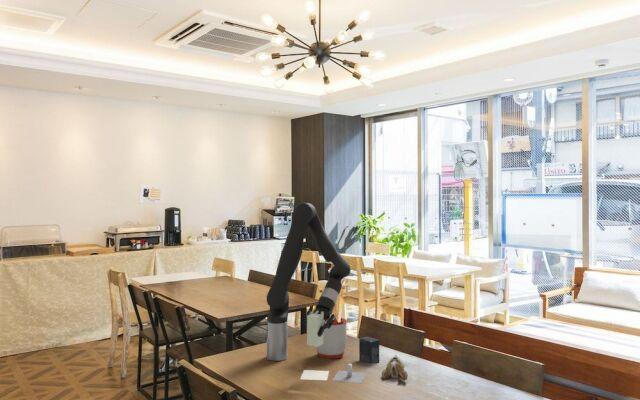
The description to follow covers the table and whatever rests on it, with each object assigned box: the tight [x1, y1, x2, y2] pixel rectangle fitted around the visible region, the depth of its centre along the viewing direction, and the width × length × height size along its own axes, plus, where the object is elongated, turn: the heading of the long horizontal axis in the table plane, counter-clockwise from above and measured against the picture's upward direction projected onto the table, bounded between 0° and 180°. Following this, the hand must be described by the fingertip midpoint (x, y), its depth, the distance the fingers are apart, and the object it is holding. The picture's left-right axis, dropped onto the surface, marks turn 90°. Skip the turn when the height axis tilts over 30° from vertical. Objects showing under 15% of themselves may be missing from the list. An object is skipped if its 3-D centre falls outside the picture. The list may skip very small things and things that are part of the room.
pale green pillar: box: [306, 313, 323, 348], centre depth 206 cm, size 5×5×12 cm
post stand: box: [332, 363, 367, 384], centre depth 204 cm, size 12×12×6 cm
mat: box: [300, 369, 330, 382], centre depth 205 cm, size 11×11×1 cm
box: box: [358, 336, 380, 364], centre depth 226 cm, size 8×6×11 cm
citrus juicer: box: [315, 318, 348, 360], centre depth 235 cm, size 16×17×20 cm
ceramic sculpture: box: [381, 354, 408, 381], centre depth 206 cm, size 11×9×15 cm
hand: (313, 334), depth 204 cm, fingers closed on pale green pillar, 5 cm apart
